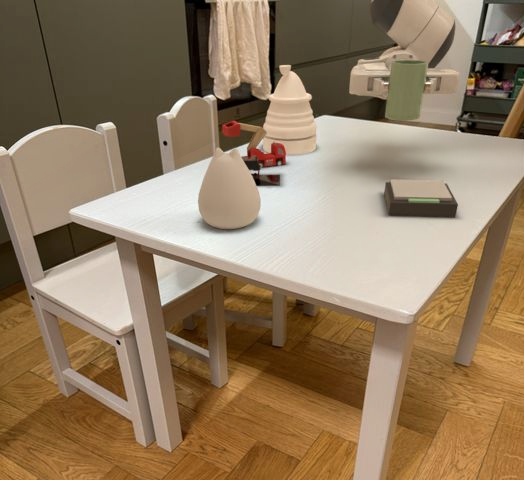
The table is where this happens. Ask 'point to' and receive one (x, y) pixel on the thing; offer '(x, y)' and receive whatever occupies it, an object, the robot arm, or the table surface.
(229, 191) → the toy character
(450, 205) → the scale
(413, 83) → the cup
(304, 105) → the honey pot
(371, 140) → the table surface
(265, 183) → the build plate
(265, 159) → the toy fire truck
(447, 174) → the table surface
